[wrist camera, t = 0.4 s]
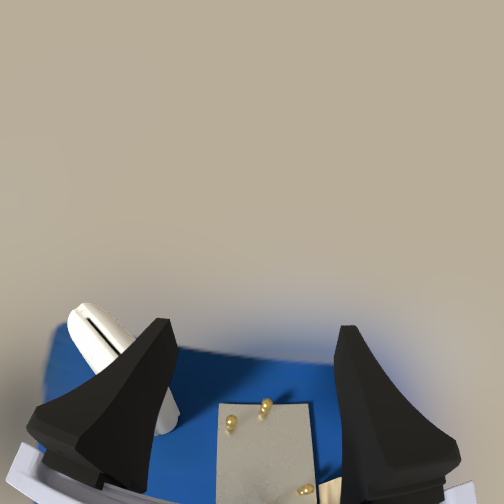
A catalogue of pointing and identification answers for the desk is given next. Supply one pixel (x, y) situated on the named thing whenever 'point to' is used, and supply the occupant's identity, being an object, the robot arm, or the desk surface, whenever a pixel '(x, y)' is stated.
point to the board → (330, 492)
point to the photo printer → (111, 351)
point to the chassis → (265, 454)
